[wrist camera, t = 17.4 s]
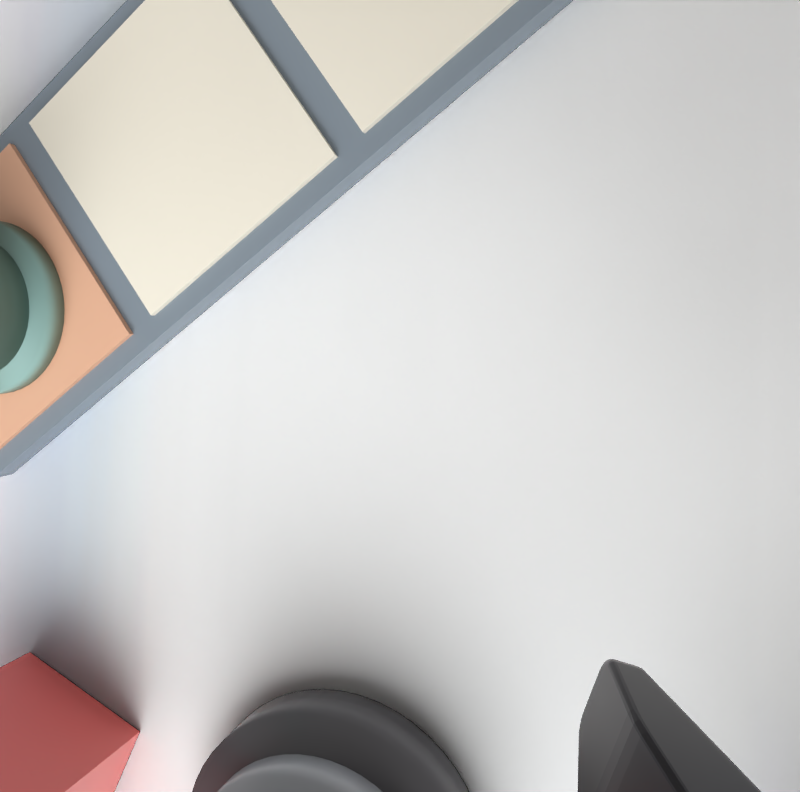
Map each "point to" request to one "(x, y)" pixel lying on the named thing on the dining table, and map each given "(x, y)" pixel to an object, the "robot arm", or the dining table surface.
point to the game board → (213, 159)
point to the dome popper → (297, 776)
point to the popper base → (336, 742)
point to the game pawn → (27, 308)
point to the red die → (57, 733)
